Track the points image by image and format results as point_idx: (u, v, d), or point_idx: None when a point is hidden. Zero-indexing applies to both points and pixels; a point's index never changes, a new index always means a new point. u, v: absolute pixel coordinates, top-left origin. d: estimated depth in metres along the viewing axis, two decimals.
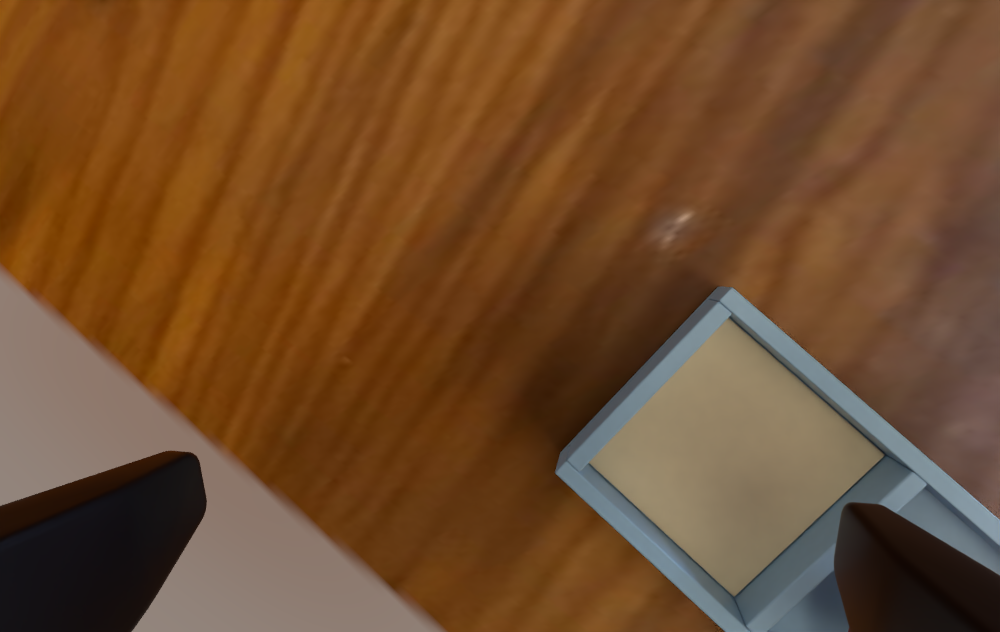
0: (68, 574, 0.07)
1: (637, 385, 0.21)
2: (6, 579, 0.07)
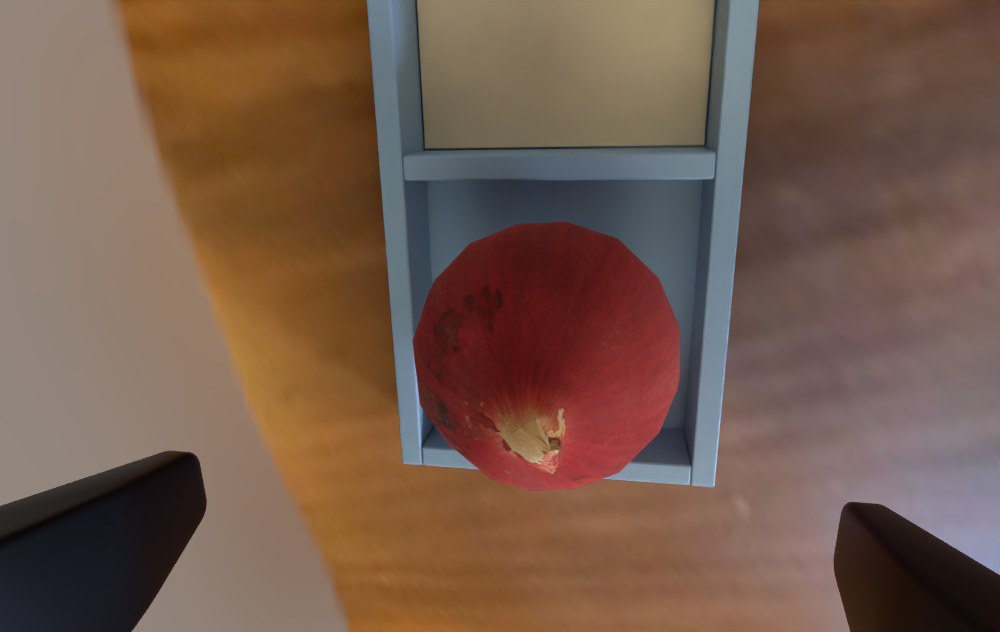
0: (68, 574, 0.07)
1: None
2: (6, 579, 0.07)
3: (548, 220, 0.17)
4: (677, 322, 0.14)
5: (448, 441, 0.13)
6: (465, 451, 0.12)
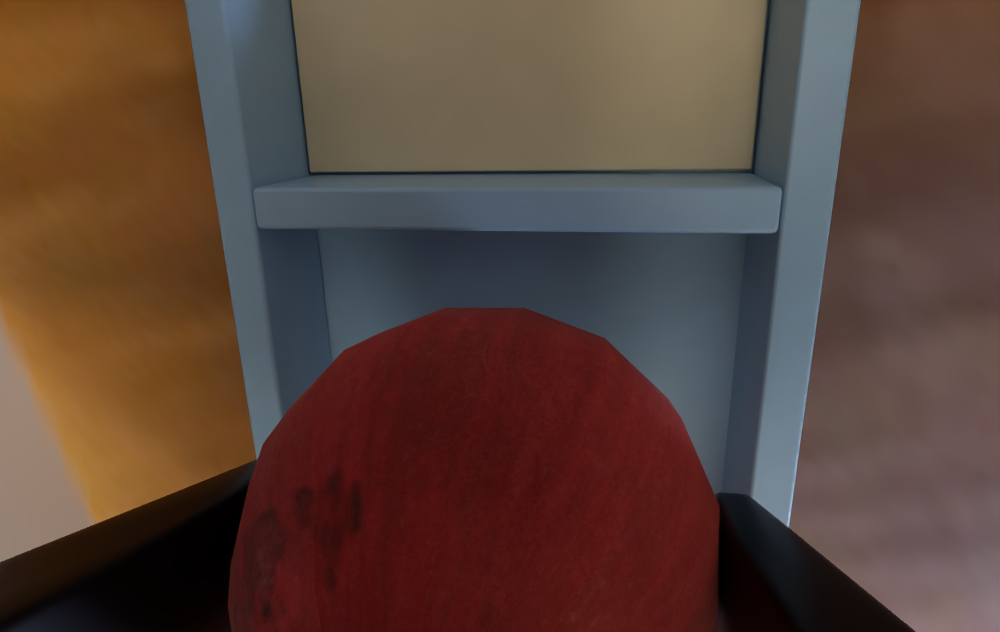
0: (185, 587, 0.07)
1: None
2: (133, 594, 0.06)
3: (503, 283, 0.11)
4: (715, 498, 0.07)
5: None
6: None
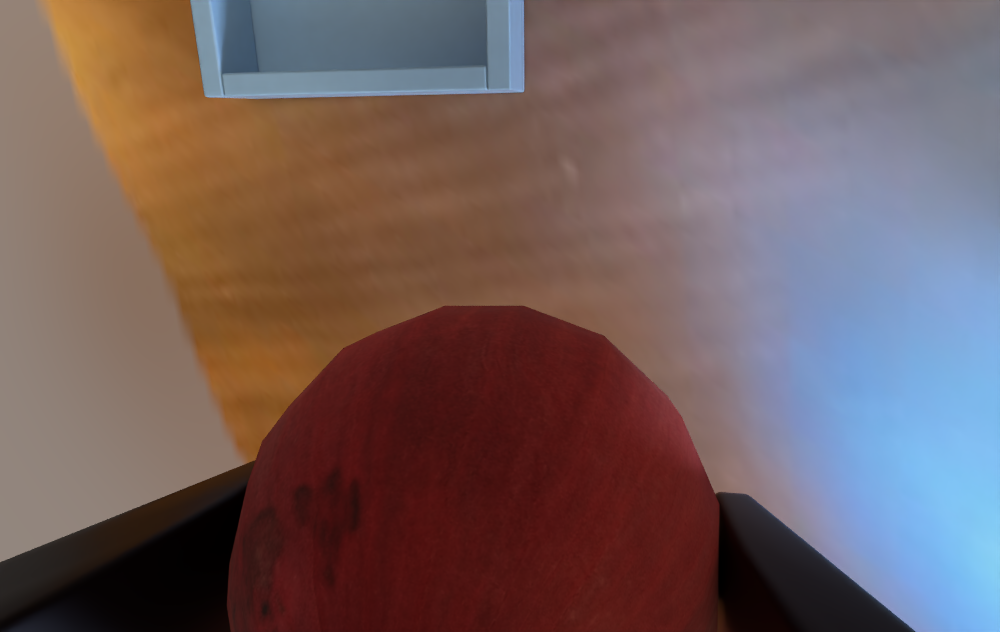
0: (185, 587, 0.07)
1: None
2: (133, 594, 0.06)
3: None
4: (715, 496, 0.07)
5: None
6: None
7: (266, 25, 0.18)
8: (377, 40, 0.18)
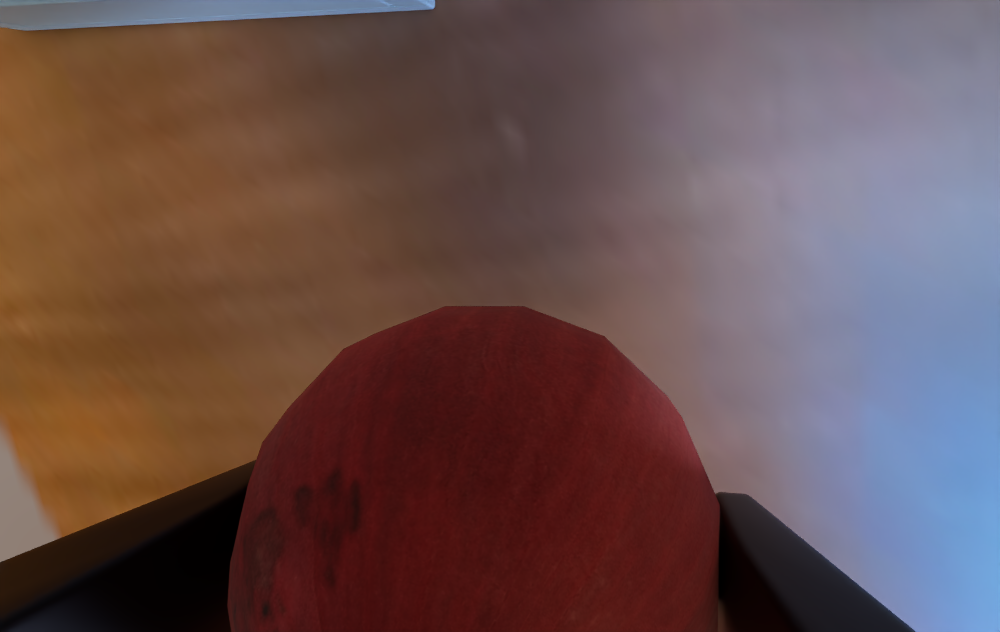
0: (185, 587, 0.07)
1: None
2: (133, 594, 0.06)
3: None
4: (716, 497, 0.07)
5: None
6: None
7: None
8: None
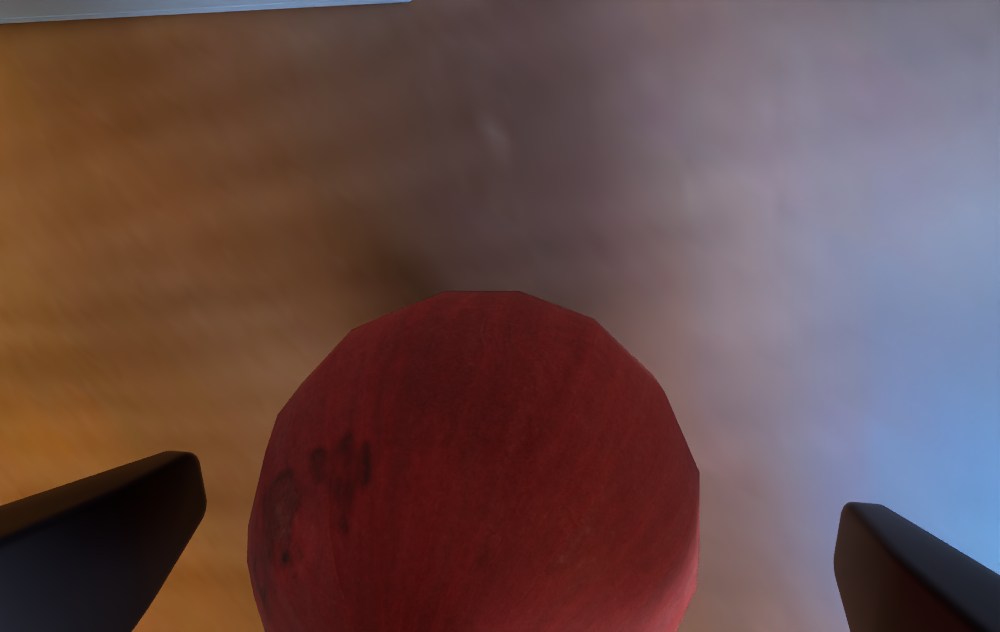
0: (68, 574, 0.07)
1: None
2: (6, 579, 0.07)
3: None
4: None
5: None
6: None
7: None
8: None
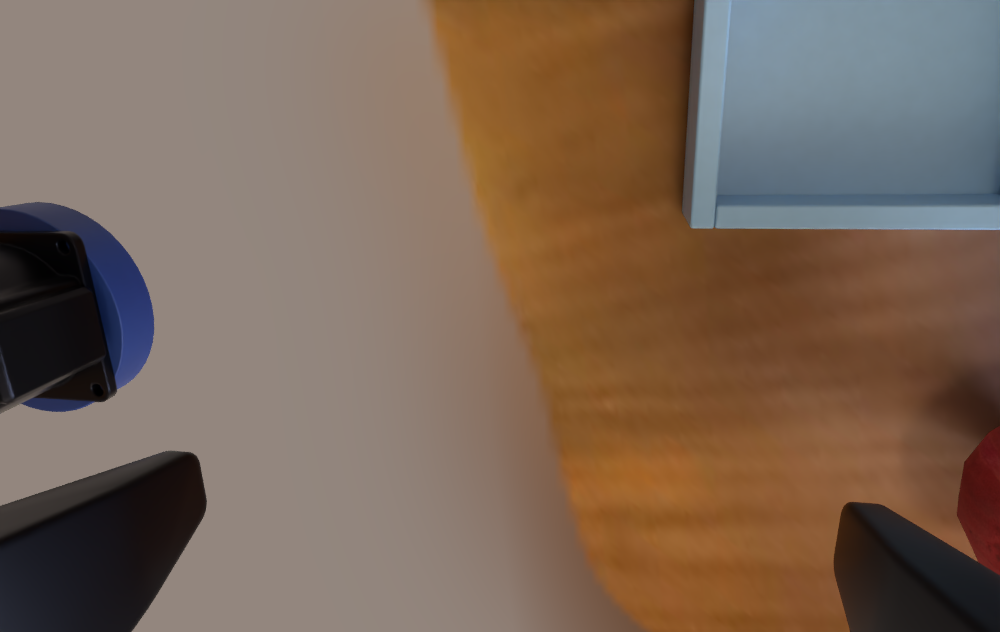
0: (68, 574, 0.07)
1: None
2: (6, 579, 0.07)
3: None
4: None
5: None
6: None
7: (726, 144, 0.17)
8: (855, 161, 0.17)
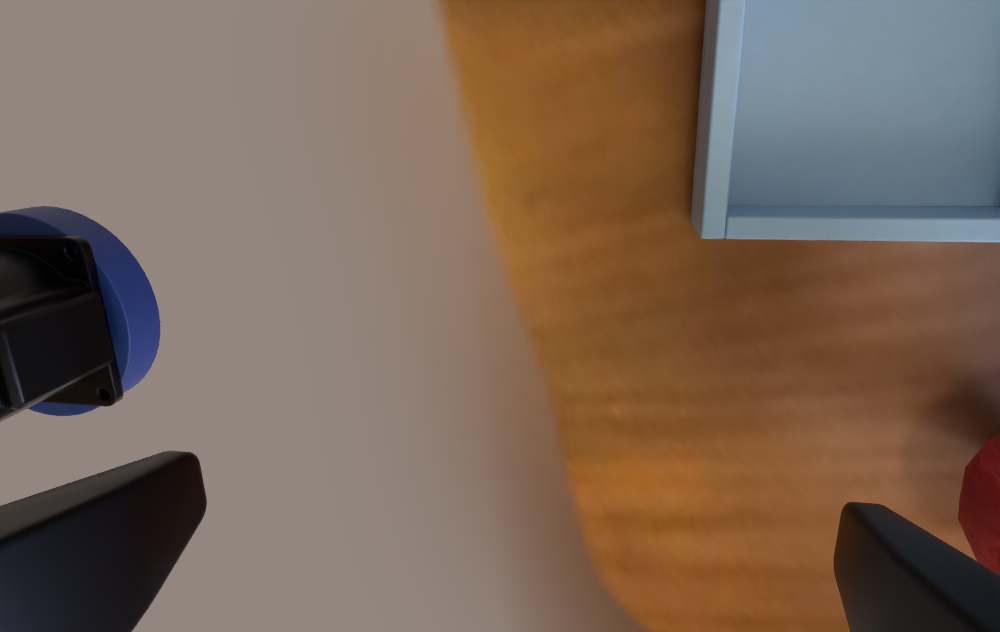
0: (68, 574, 0.07)
1: None
2: (6, 579, 0.07)
3: None
4: None
5: None
6: None
7: (735, 155, 0.18)
8: (861, 173, 0.17)
